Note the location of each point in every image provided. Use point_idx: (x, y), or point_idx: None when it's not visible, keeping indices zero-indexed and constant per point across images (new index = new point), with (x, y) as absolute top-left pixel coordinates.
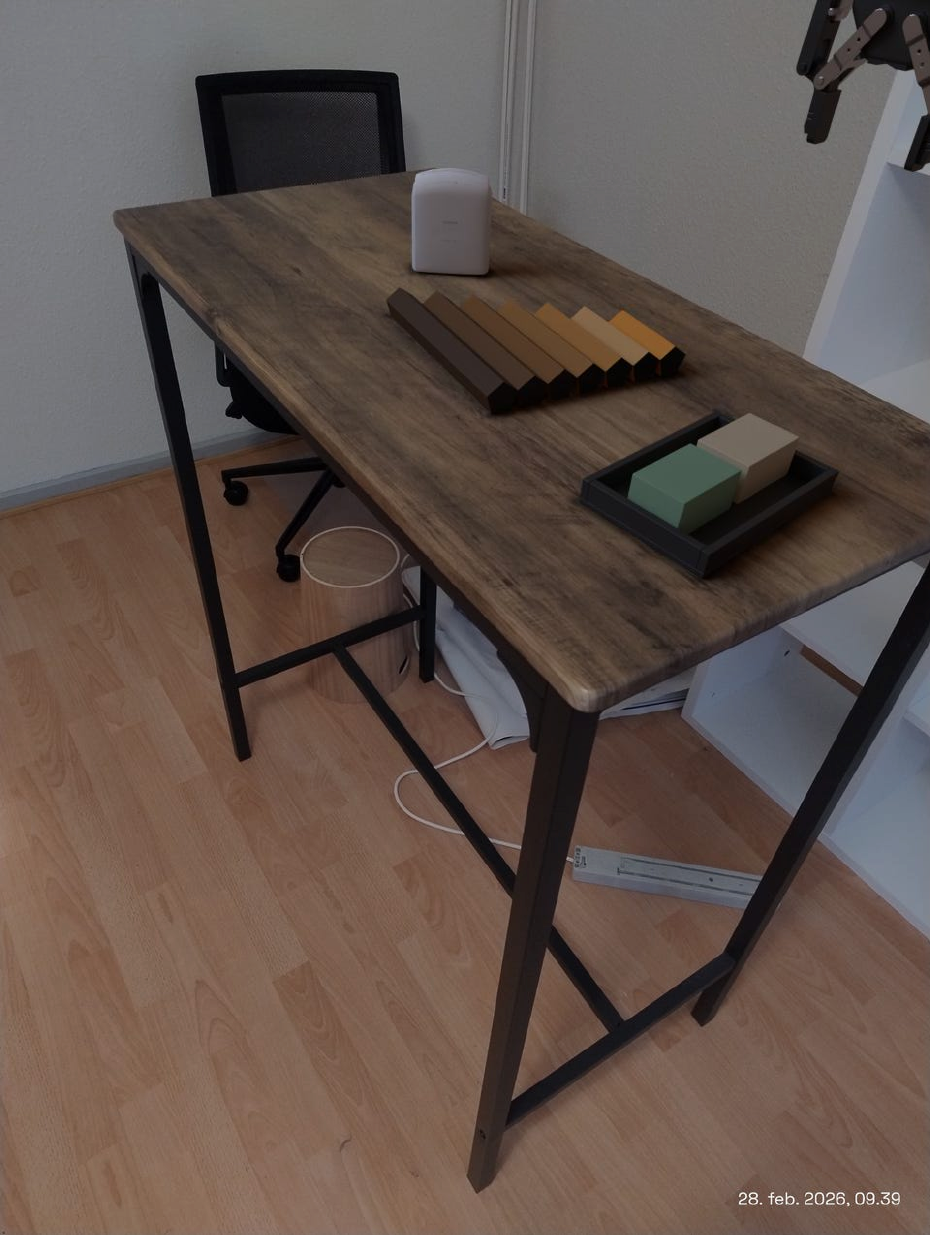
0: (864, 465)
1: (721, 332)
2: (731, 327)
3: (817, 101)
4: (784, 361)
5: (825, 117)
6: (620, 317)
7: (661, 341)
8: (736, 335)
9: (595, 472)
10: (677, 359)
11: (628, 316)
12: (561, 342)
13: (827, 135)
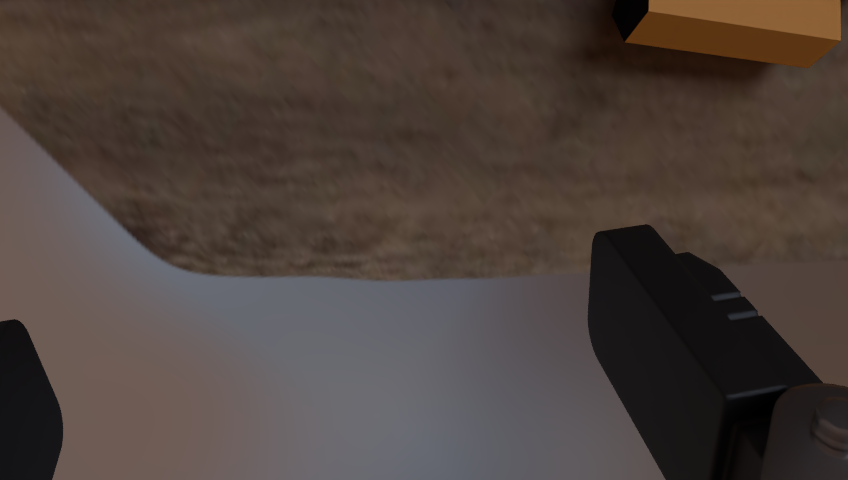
0: (112, 67)
1: None
2: None
3: (746, 347)
4: (499, 254)
5: (643, 349)
6: (827, 20)
7: (687, 6)
8: None
9: None
10: (628, 17)
11: (813, 31)
12: None
13: (596, 350)
